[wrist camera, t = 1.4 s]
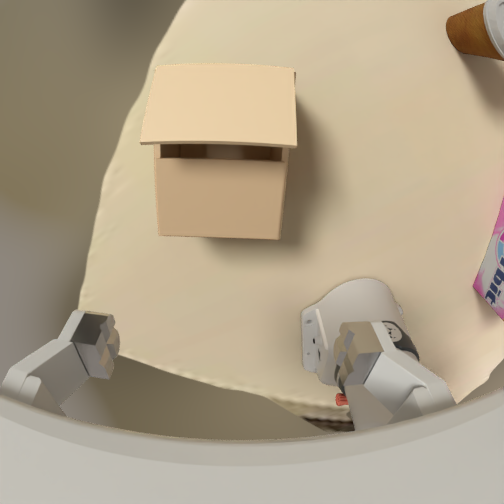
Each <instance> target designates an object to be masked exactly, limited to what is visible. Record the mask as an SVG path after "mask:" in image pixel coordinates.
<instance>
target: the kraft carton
mask: <svg viewBox="0 0 504 504" xmlns="http://www.w3.org/2000/svg"><path fill="white" fill-rule="evenodd" d="M155 70H156V69H155ZM295 78H296V72H294V83H295ZM288 159H289V148H284V147H270V146H254V145H232V144H154V171H155V192H156V209H157V222H158V235H159V236H185V237H215V238H243V239H269V240H280V235H281V226H282V217H283V208H284V198H285V189H286V179H287V169H288Z"/></svg>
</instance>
